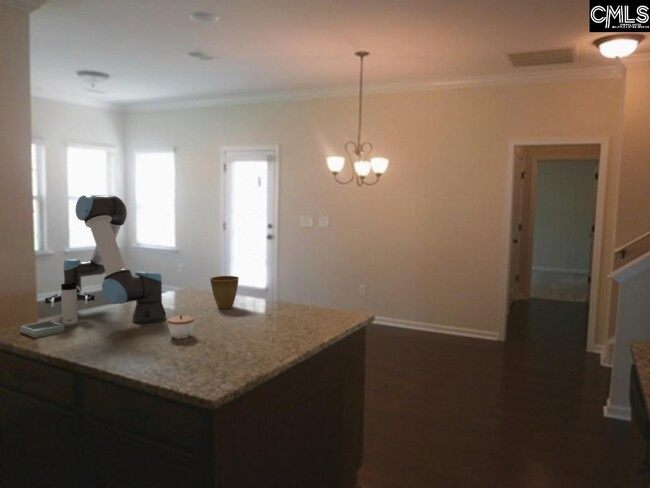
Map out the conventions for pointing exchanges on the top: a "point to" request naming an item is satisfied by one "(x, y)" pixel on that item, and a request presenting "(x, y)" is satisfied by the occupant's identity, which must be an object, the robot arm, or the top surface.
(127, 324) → the top surface
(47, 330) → the tray
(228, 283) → the plant pot
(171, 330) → the lidded jar
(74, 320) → the travel mug
